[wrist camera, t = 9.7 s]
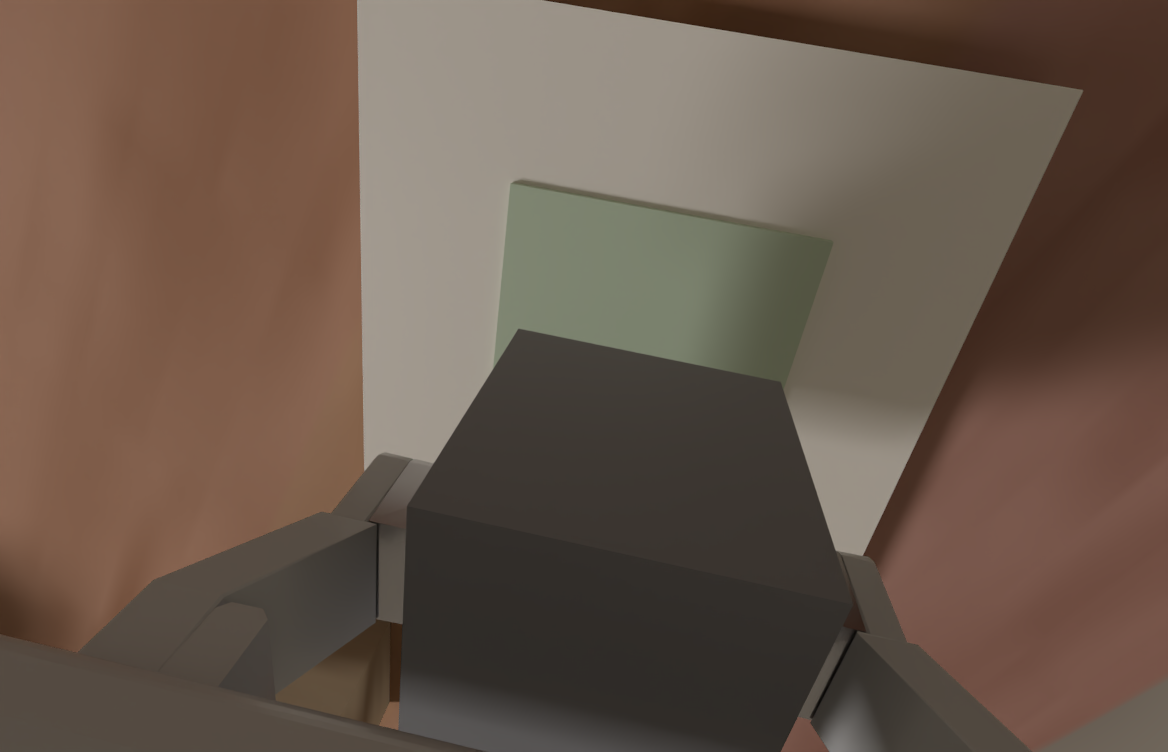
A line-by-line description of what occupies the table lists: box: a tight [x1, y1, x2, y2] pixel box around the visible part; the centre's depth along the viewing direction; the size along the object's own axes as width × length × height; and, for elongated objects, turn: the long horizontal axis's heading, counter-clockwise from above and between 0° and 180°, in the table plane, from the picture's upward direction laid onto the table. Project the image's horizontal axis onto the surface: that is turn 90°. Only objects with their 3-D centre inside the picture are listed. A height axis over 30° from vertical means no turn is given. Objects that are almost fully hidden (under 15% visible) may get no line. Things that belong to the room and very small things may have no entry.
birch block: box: [275, 619, 391, 725], centre depth 21 cm, size 5×5×5 cm
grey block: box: [399, 329, 853, 752], centre depth 10 cm, size 5×5×5 cm
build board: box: [357, 0, 1083, 556], centre depth 16 cm, size 14×14×1 cm
